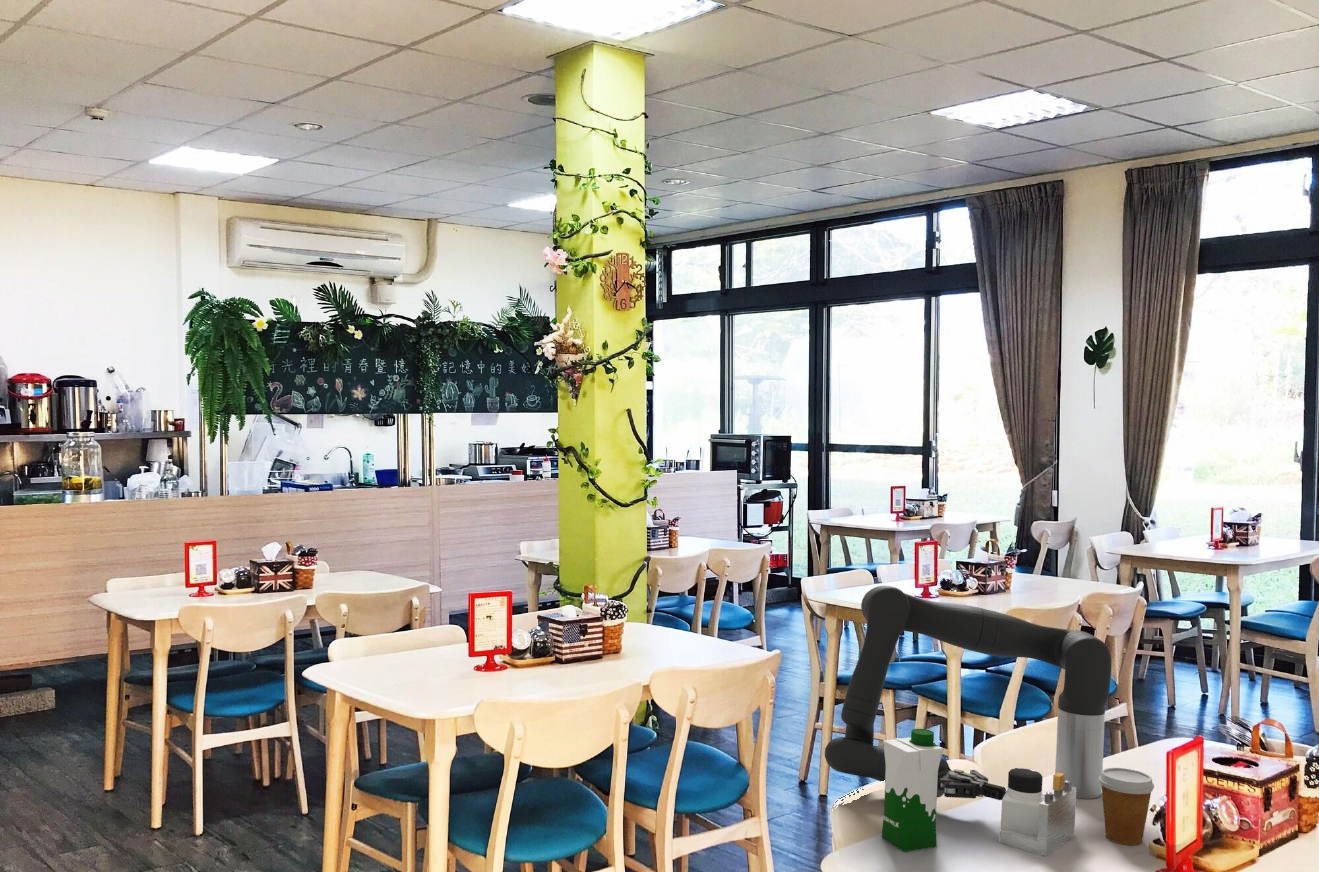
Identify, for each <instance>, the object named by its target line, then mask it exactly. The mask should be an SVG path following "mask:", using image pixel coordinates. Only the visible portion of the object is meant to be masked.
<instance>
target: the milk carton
mask: <svg viewBox="0 0 1319 872" xmlns="http://www.w3.org/2000/svg"><path fill="white" fill-rule="evenodd" d="M882 743H883V746H884V753H885V763H886V774H885V783H884V801H883V803H884V804H883V817H882V818H883V820H882V829H881V837H882V838H881V839H882V840H884V841H886V842H888V843H889V844H891V845H892V846H895V847H896V848H897V849H899V850H901V851H902V852H904V853H905V852H910V851H911V852H912V851H919V850H920V851H921V850H926V849H932V848H937V847H938V846H937V804H938V803H937V799H938V798H937V780H938V768H939V764H940V760H941V758H942V756H943V751H944V748H943V747H941V746H940V745H938V744H936V743H935V733H934V731H933V730H930V729H926V728H913V729H911V731H910V736H909V737H902V738H901V737H895V738H894V739H884V740H882Z"/></svg>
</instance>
